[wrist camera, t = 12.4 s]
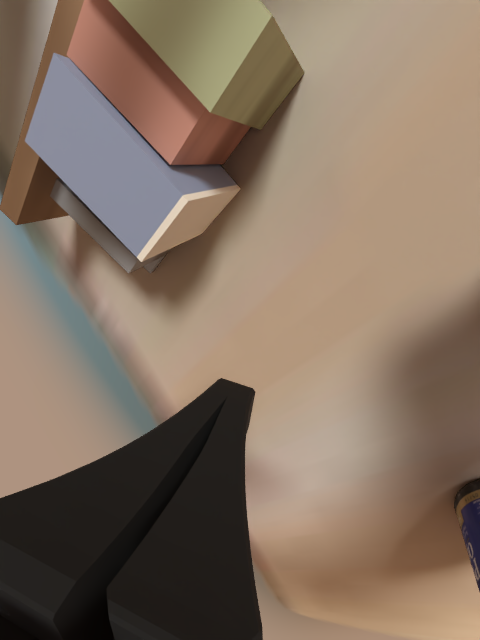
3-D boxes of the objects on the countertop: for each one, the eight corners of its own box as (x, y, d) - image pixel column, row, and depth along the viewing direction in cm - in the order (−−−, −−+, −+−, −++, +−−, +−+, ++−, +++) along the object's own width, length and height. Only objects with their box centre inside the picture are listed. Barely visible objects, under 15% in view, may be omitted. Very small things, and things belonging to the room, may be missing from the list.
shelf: (309, 66, 14) (279, 3, 8) (151, 273, 22) (84, 309, 16) (197, -67, 13) (85, -231, 8) (77, 198, 21) (-20, 211, 16)
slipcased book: (240, 188, 17) (188, 201, 12) (201, 233, 19) (141, 262, 14) (153, 89, 16) (53, 52, 11) (122, 147, 18) (24, 141, 13)
